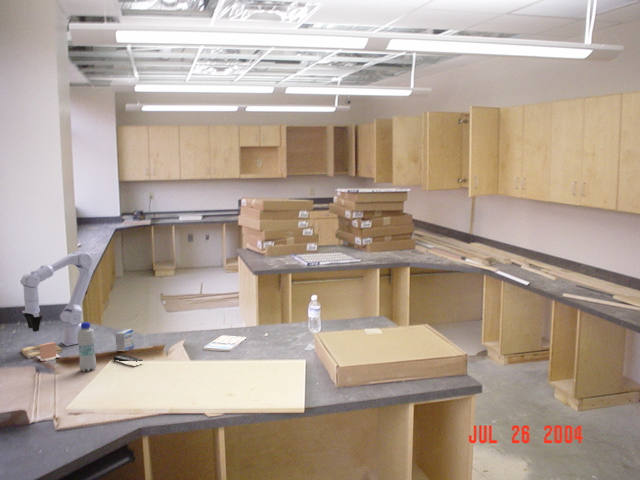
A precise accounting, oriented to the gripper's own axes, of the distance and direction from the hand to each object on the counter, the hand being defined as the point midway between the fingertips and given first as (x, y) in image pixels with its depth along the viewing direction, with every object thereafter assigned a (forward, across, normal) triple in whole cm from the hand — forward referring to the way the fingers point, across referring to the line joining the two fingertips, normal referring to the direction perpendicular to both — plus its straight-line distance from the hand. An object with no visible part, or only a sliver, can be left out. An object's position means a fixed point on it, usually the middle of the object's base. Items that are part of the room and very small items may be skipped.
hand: (33, 329), depth 255 cm
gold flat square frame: (+10, +2, +2) cm, 11 cm away
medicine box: (+11, +25, +32) cm, 42 cm away
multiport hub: (+11, +44, +26) cm, 52 cm away
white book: (+11, +50, +70) cm, 87 cm away
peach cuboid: (+10, +14, +2) cm, 17 cm away
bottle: (+11, +42, +10) cm, 44 cm away
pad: (+10, +14, +2) cm, 18 cm away
